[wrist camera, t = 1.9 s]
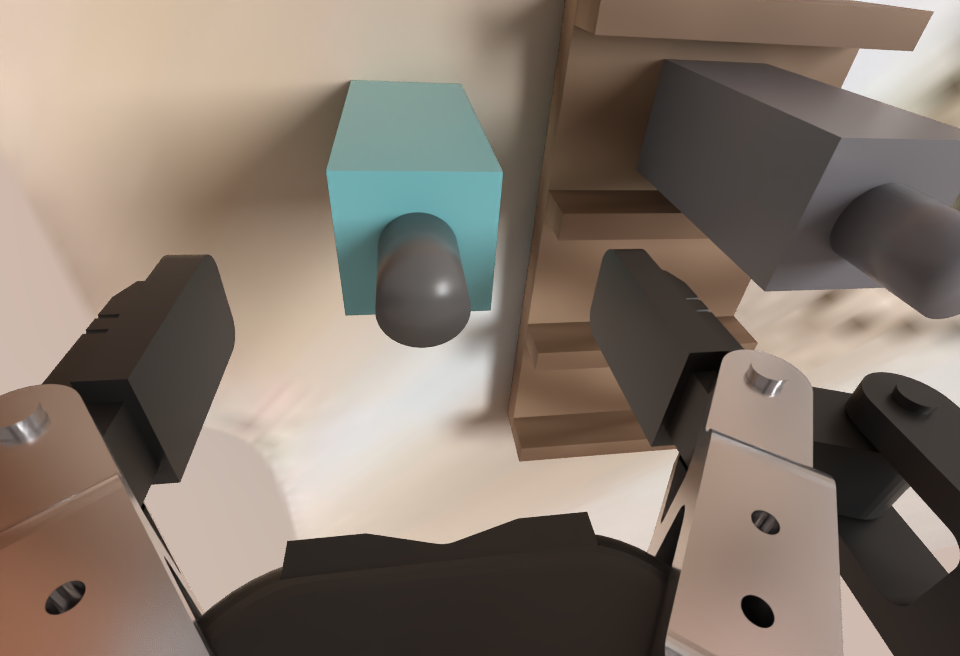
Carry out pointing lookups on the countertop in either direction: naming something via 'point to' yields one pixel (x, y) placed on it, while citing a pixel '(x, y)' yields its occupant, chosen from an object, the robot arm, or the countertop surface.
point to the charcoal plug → (809, 181)
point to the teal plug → (414, 208)
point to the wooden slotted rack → (644, 187)
